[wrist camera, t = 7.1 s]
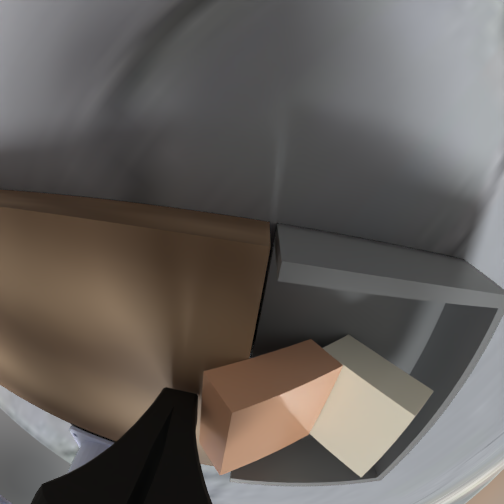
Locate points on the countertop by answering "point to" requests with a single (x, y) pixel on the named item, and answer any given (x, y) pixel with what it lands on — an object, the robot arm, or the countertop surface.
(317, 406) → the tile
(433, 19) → the countertop surface
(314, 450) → the bin
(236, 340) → the wooden serving tray
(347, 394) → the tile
